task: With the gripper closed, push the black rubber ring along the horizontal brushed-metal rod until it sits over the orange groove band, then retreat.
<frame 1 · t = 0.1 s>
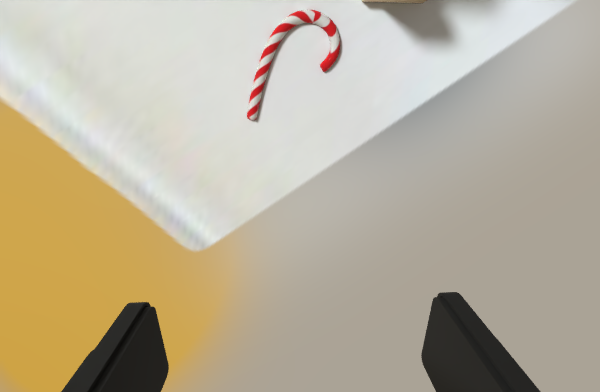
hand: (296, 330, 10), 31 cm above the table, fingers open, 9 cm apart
candy cane: (287, 72, 36), on the table
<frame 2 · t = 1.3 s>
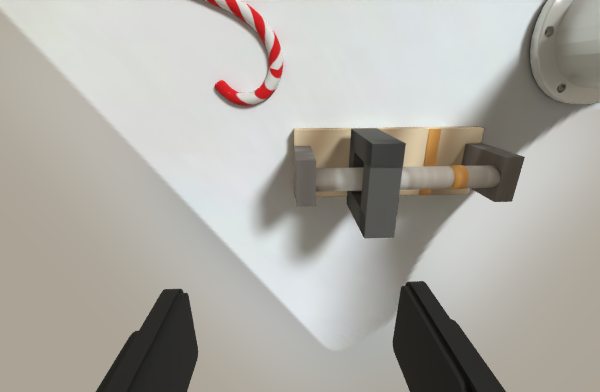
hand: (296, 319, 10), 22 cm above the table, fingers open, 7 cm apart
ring: (370, 178, 25), point 6 cm above the table, slide at 0.0 cm
candy cane: (210, 33, 27), on the table
rail fixture: (383, 160, 31), on the table
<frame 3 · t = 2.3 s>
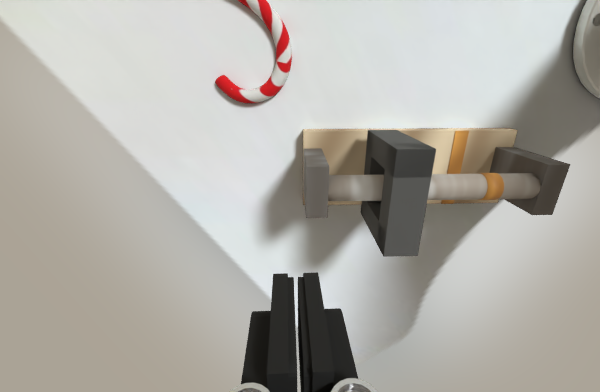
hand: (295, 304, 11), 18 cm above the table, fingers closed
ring: (390, 187, 22), point 6 cm above the table, slide at 0.0 cm
candy cane: (210, 23, 24), on the table
rail fixture: (401, 165, 28), on the table
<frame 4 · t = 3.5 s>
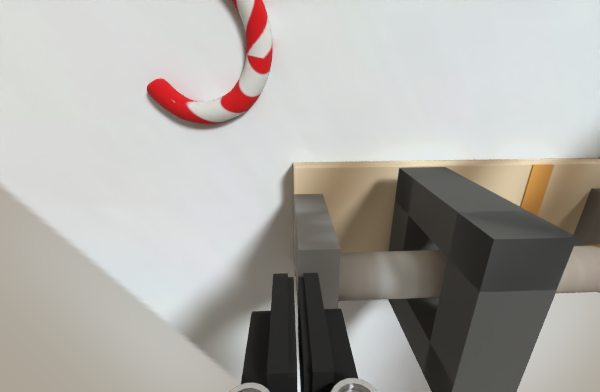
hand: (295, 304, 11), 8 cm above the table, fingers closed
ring: (445, 272, 13), point 6 cm above the table, slide at 0.0 cm
rail fixture: (442, 213, 18), on the table
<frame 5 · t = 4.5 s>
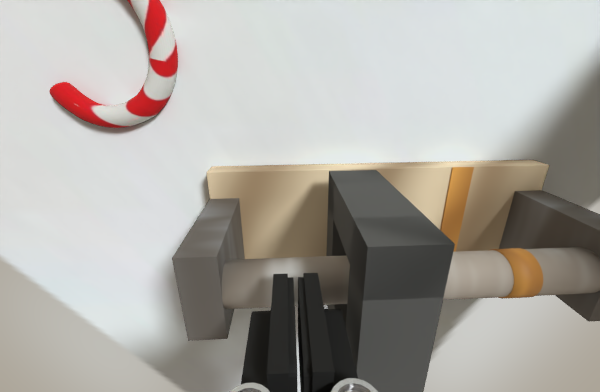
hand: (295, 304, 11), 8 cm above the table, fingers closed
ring: (365, 278, 13), point 6 cm above the table, slide at 1.1 cm, touching gripper
rail fixture: (371, 217, 18), on the table
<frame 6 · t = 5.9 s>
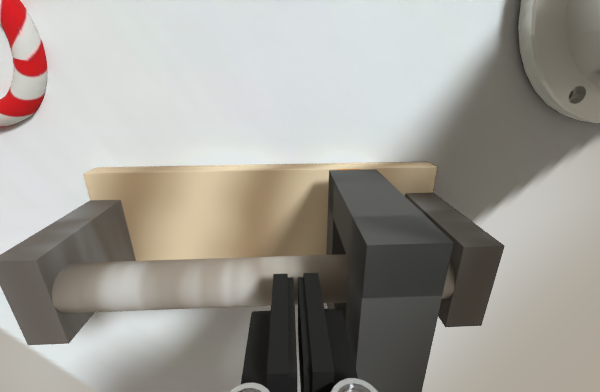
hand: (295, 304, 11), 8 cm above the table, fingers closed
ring: (365, 277, 13), point 6 cm above the table, slide at 7.5 cm, touching gripper
rail fixture: (268, 219, 18), on the table
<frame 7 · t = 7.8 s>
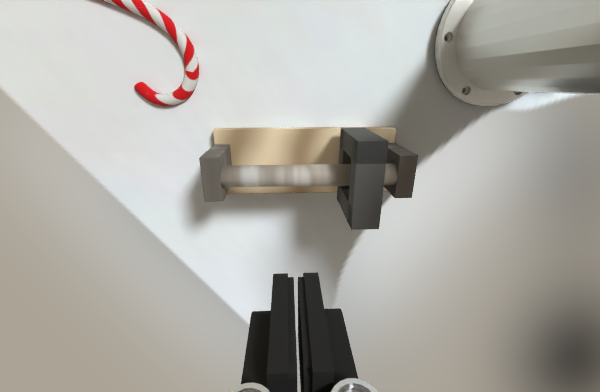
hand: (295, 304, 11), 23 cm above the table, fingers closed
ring: (358, 174, 27), point 6 cm above the table, slide at 7.6 cm
candy cane: (128, 37, 28), on the table
rail fixture: (305, 159, 32), on the table
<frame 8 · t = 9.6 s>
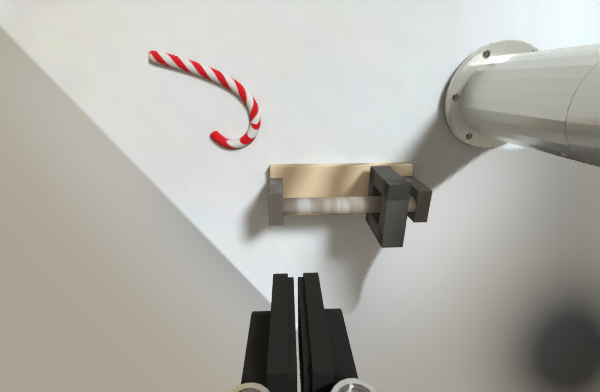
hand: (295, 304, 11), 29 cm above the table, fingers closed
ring: (385, 204, 35), point 6 cm above the table, slide at 7.6 cm
candy cane: (206, 97, 36), on the table
rail fixture: (339, 188, 40), on the table
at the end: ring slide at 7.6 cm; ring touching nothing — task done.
